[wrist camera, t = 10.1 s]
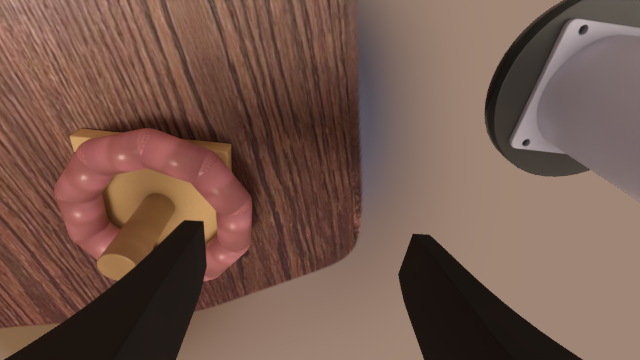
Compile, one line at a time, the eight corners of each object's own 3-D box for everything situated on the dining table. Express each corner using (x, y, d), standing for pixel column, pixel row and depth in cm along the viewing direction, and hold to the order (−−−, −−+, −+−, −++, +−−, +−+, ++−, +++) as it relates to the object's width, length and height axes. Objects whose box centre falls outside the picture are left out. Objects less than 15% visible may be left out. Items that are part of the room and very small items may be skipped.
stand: (231, 143, 20) (200, 205, 15) (233, 247, 25) (210, 326, 19) (81, 127, 19) (-14, 187, 14) (111, 239, 24) (50, 318, 18)
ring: (256, 132, 19) (250, 149, 17) (252, 274, 25) (247, 297, 23) (48, 110, 18) (16, 125, 16) (97, 264, 24) (79, 287, 22)
